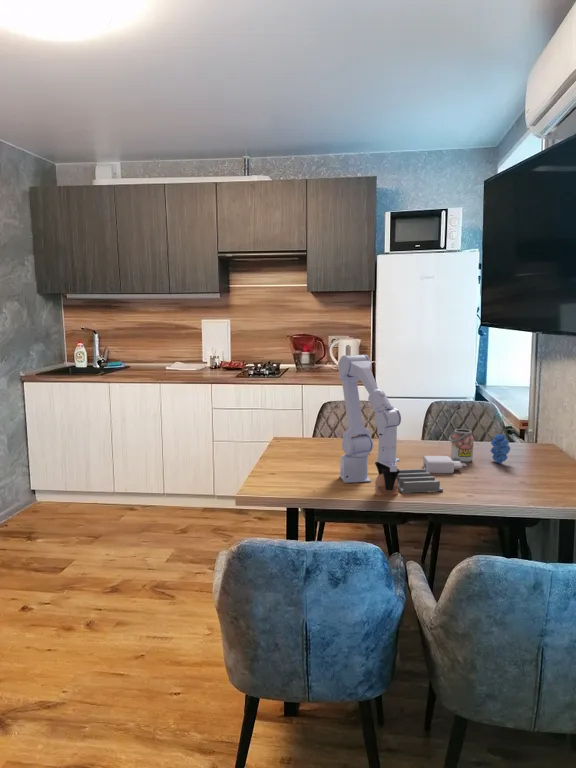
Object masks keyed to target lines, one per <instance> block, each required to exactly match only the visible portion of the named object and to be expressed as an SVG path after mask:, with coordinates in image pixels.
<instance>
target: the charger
mask: <svg viewBox="0 0 576 768" xmlns="http://www.w3.org/2000/svg"><path fill="white" fill-rule="evenodd" d="M422 466H423V469H426V473H427V472H429V473H430V474H450V473H451V474H453V473H454V472H455V469H456V470H458V469H459V470H460V469H462V468H463V467H464V466H465V467H467V464H466V463H461V462H460V461H453V460H452V458H451V457H450V456H447V455H423V457H422Z"/></svg>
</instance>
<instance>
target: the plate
mask: <svg viewBox="0 0 576 768" xmlns="http://www.w3.org/2000/svg"><path fill="white" fill-rule="evenodd" d="M374 482H375V488H374V489H375V490H374V494H375V493H376V494H377V495H376V494H375V495H376V496H386V495H385V494H395V495H398V493H399V490H398V481H397V479H396V480H395V484H394V487H393V490H386V488H385V480H384V475H383V473H381V474H380V475H379V474H378V476H377V477H376V478H375V481H374Z"/></svg>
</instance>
